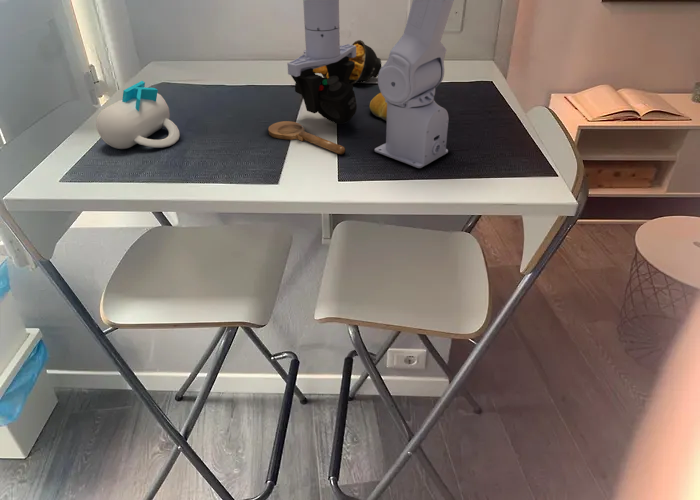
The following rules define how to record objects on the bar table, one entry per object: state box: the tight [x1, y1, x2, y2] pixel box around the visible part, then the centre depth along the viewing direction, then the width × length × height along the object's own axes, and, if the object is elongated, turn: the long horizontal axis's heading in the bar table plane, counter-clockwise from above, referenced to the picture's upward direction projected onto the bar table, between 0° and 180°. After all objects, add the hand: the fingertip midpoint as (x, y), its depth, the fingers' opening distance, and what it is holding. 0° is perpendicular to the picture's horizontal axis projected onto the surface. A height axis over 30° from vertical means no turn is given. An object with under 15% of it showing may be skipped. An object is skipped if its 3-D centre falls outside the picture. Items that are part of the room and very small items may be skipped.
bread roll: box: [369, 92, 387, 122], centre depth 106 cm, size 8×9×4 cm
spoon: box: [267, 120, 346, 155], centre depth 97 cm, size 17×6×1 cm, turn 47°
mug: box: [95, 80, 181, 150], centre depth 95 cm, size 12×9×12 cm
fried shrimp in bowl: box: [313, 39, 382, 85], centre depth 118 cm, size 9×11×18 cm
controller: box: [294, 76, 358, 125], centre depth 100 cm, size 4×12×10 cm, turn 48°
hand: (324, 106), depth 101 cm, fingers closed on controller, 6 cm apart
